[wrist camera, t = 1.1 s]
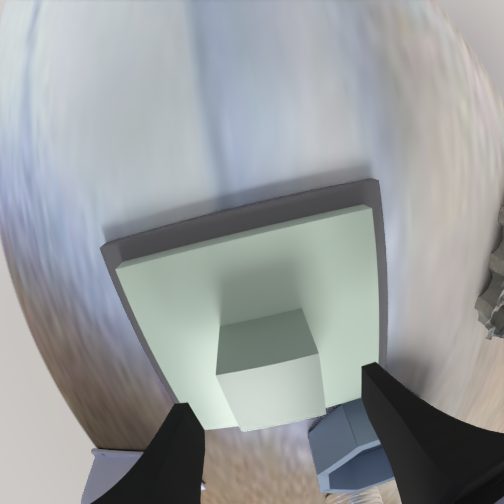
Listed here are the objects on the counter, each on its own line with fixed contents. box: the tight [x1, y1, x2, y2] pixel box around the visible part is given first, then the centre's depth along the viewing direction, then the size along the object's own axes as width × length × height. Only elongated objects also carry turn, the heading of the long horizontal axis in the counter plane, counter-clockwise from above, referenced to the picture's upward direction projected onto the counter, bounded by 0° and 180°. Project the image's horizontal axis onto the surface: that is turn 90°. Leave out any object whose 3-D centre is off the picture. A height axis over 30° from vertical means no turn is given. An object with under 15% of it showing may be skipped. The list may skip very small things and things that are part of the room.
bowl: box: [308, 395, 420, 494], centre depth 18 cm, size 10×10×4 cm
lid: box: [115, 204, 379, 432], centre depth 13 cm, size 12×12×4 cm
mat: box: [100, 179, 388, 404], centre depth 16 cm, size 14×14×1 cm
